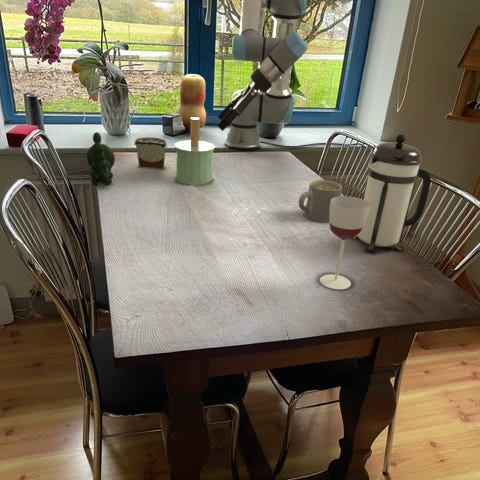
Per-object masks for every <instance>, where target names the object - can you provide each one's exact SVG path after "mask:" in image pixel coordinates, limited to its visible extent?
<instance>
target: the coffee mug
mask: <svg viewBox="0 0 480 480" xmlns="http://www.w3.org/2000/svg"><path fill="white" fill-rule="evenodd" d="M342 191H343V185H342V184H341V183H338V182H336V181H332V180H326V179H316V180H315V179H314V180H312V181H310V182H309V186H308V191H304V192H302V193H301V194H300V196H299V198H298V207H299V209H300V210H301V211H303V212H305V217H306V218H307V219H309V220H311V221H315V222H318V223H319V222H320V223H330V220H329V213H330V203H331V199H332V198H334V197H339V196H342ZM306 199H307V200H306ZM305 200H306V205H305V204H304V203H305Z"/></svg>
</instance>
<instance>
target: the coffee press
mask: <svg viewBox="0 0 480 480" xmlns="http://www.w3.org/2000/svg"><path fill="white" fill-rule="evenodd" d="M405 141H406V136H405V135H404V134H398V135H397V136H396V137H395V142H394V141H389V142H388V141H387V142H382V143H380V144H377V146H376V147H375V148H374V150H372V151H371V154H370V156H371V157H370V159H369V161H368V164H367V167H368V171H367V172H368V173H367V178H366V181H365V187H364V193H363V197H362V199H363V200H366V201H368V202H369V203H370V208H369V212H368V215H367V218H366V221H365V223H364V226H363V228H362V230H361V232H360V233H359V234H358V235H356V236H354V237H352V238H351V239H352V240H357V238H359V239H360V240H361V241H362V242H364V243H365V244H368V247H367V253H371V254H373V253H374V251H375V248H376V247H381V248H383V247H392V246H394V247H395V248H396V250H398V251H399V252H400V251H402V250H403V249H404V247H405V245H404V243H403V240H402V239H403V234H404V229H405V227H410V226H413V225H415V224H416V223H417V222H418V221H419V220H420V219H421V217H422V215H423V213H424V210H425V207H426V203H427V199H428V195H429V192H430V188H431V183H432V182H431V175H430V173H429V172H428V171H427V170H425V169H423V168H420V165H421V164H422V162H423V158H422V154H421V150H419V149H418V148H417V147H416V146H413V145H411V144H407V143H404V142H405ZM418 177H421V179H422V186H421V190H420V194H419V198H418V201H417V206H416V209H415V212H414V214H413V216H411V217H410V218H408V214H409V210H410V206H411V203H412V198H413V194H414V191H415V187H416V183H417V179H418ZM398 243H400V246H401V248H400V247H399V245H398Z"/></svg>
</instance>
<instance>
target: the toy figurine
mask: <svg viewBox="0 0 480 480" xmlns="http://www.w3.org/2000/svg"><path fill="white" fill-rule="evenodd" d="M92 142H93V144H92V146H90V147H89V148H88V150H87V152H86V162H87V164H88V166H89V167H90V171H91V172H90V174H89V175H90V177H91V180H90V182H91V184H92V185H93V186H99V184H104V185H105V186H110V185H111V184H112V183H113V179H112V178H113V177H114V174H113V172H112V168H113V167H114V164H115V162H116V157H115V156H116V155H115V153H114V151H113V149H111V147H109V146H108V145H106V144H105V143H101V142H102V136H101V134H100V132H97V131H96V132H94V133H93V135H92Z"/></svg>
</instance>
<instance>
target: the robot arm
mask: <svg viewBox="0 0 480 480" xmlns="http://www.w3.org/2000/svg"><path fill="white" fill-rule="evenodd" d="M239 4H240V8H241V17H240V26H239V34H234V35H233V36H232V41H231V42H232V43H231V46H232V47H231V57H232V59H233V60H234V61H241V62H255V63H256V62H257V63H259V64H258V67H255V69H254V70H253V71H252V72H251V73H250V75H249V78H250V79H251V81H249V83H248V84H246V85H245V87H244V88H243V89H239V90H237V91H236V90H235V91H234V92H233V93H232V98H231V101H230V102H229V103H228V104H227V105H226V106H225V108H223V110H222V111H220V113H219V114H218V115H217V118H218V119H219V121H218V123H217V124H216V126H217V127H218V129H220V130H221V131H222V132H223V131H225V130H226V128H228V127H229V125H230V128H229V131H228V132H227V135H226V136H227V137H226V140H225V146H226V147H228V148H231V149H235V150H242V151H243V150H244V151H250V150H251V151H252V150H257V149H259V148H260V146H261V145H260V144H265V145H269V146H274V147H281V148H303V147H309V146H320V145H327V144H326V143H327V142H315V143H308V144H307V143H306V144H300V145H283V144H276V143H271V142H267V141H261V140H260V138H259V132H258V123H261V124H275V125H287V124H289V123H290V121H291V119H292V115H293V112H294V107H295V100H296V97H295V96H294V95H293V91H292V89H291V88H290V83H291V74H292V66H294V65H295V63H296V62H297V61H298V60H299V59H301V58H302V57H303V56H304V54H305V53H306V52H307V51H308V45H307V44H306V42H305V40H304V39H303V38H302V36H301V35H300V34H299V33H298V31H297V23H298V22H299V21H300V20H301V19H302V15H304V14H306V12H307V0H239ZM264 11H269V12H271V18H272V19H273V21H274V24H273V35H272V37H271V36H270V37H269V36H262V27H263V26H262V25H263V24H262V23H263V12H264ZM261 92H262V93H261ZM330 143H331V144H330V145H335V146H344V147H345V146H346V147H352V146H361V147H362V148H366V146H365V145H364V144H363V145H364V146H363V145H362V143H359V142H357V143H344V144H345V145H342V144H343V143H339V142H330ZM350 144H351V146H349V145H350Z"/></svg>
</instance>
